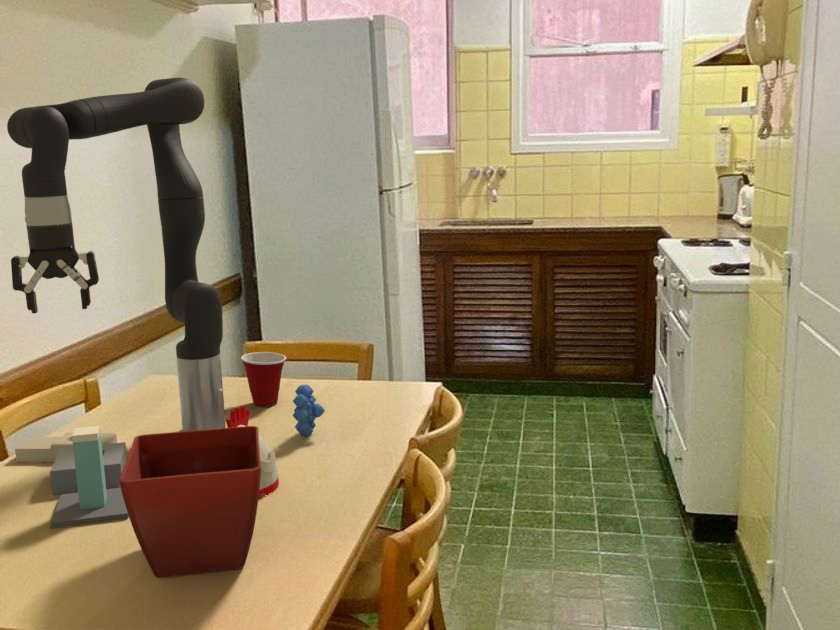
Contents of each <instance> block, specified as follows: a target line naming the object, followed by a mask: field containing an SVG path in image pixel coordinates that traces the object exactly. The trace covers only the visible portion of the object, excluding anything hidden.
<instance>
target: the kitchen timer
mask: <svg viewBox="0 0 840 630" xmlns="http://www.w3.org/2000/svg"><path fill="white" fill-rule="evenodd" d="M229 413H230V414H229V418H225V424H226V428H232V427H244V426H249V420H250V414H251V410H250V409H246V406H245V405H240V407H235V408H234V410H233V409H232V410H231V409H230V412H229ZM259 448H260V460H261V479H260V490H259V499H261V498H260V497H262V498H264V497H263V496H265V495H267V496H269V495H270V494H269V493H271V492H272V493H274V492H275V491H276V490H277V489H278V488H279V485H280V482H279V470H278V466H277V461H276V460H277V459H276V454H275V451H274V450H273V449H272V450H271V449H270V448H269V446H268V445H267V443H266V441H265V440H264V438H263V437H262V436H261V435H260V434H259ZM273 491H274V492H273ZM272 493H271V494H272ZM268 494H269V495H268ZM265 497H266V496H265Z"/></svg>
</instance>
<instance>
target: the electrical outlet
mask: <svg viewBox="0 0 840 630" xmlns="http://www.w3.org/2000/svg"><path fill="white" fill-rule="evenodd" d="M100 433H101V443H102V445H103V444H113V443H118V438H117V437H118V436H117V433H116V432H100ZM72 435H73V432H67V433H65V434H64V435H62V436H32V437H30V438H29V439H27V440H26V441H25V442H23V443H21V444H20V445H19V446H17V447H16V448H15V449H14V453H15V461H16V462H17V463H38V462H39V463H44V462H45V463H48V462H49V463H51V462H52V463H54V462H55V460H56V457H57V455H58V453H59V451H60V449H65V448H73V441H72Z"/></svg>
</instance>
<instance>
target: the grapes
mask: <svg viewBox="0 0 840 630" xmlns="http://www.w3.org/2000/svg"><path fill="white" fill-rule="evenodd" d="M314 391H315V390H314V389H313V388H312V387H311V386H310V385H309V384H301V385H299V386H298V387H297V388H296V390H295V391H294V392H295V394H296V396H295V397H294V399H293V400H292V403H293V404H294V405H295V406H296V407H295V408H294V410H293V414H292V417H293V418H294V419H295V420H296V422H297V423H296V424H295V426H294V428H295V429H296V431H297V432H298V433H299V434H300V436H302V438H309V437H310V436H311V435H312V433H314V428H315V427H316V426H317V425H316V423H315V421H316V418H320V417H321V416H322V415H323V414H324V413H325V411H326V410H325V409H324V407H323V406H322V405H321V404H319V403H316V401H317V399H316V397H315V396H314V395H313V393H314Z"/></svg>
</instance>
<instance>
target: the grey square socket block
mask: <svg viewBox="0 0 840 630" xmlns="http://www.w3.org/2000/svg"><path fill="white" fill-rule="evenodd" d="M126 444H127V443H126V442H125V441H122V442H117V443H113V444H103V445H102V453H103V463H104V472H105V482H106V489H113V488H121V487H120V482H119V478H120V476H121V473H122V471H123V468H124V466H125V463H126V460H127V458H128V455H127V453H128V452H127V445H126ZM49 474H50V482H51V490H52V496H53V495H62V494H70V493H78V487H77V478H76V469H75V460H74V450H73V448H65V449H60V451H59V453H58V455H57V457H56V460H55V462H53V464H52V466H51V469H50V470H49Z"/></svg>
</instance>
